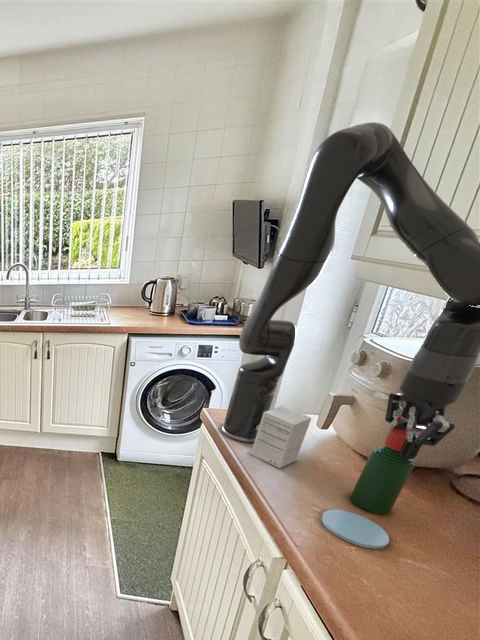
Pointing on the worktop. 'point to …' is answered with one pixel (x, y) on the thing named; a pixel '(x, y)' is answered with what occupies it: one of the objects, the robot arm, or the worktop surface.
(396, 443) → the cap
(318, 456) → the worktop surface
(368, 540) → the saucer
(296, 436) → the white packaging box
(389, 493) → the sauce bottle
